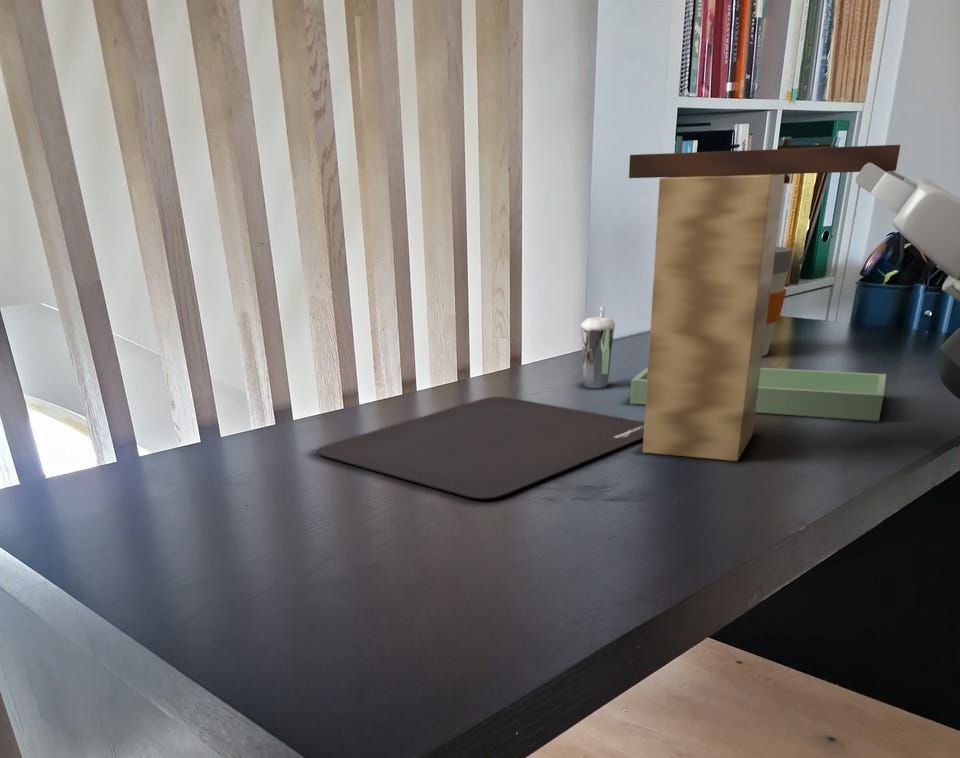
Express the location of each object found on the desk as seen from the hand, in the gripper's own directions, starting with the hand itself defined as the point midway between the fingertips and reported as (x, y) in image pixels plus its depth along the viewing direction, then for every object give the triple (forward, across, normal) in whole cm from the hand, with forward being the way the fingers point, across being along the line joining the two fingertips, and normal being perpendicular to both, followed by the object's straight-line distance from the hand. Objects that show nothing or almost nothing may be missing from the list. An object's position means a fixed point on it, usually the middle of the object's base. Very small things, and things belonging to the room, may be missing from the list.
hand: (863, 169), depth 77 cm
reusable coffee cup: (+1, -52, +31) cm, 60 cm away
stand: (-2, 0, +29) cm, 29 cm away
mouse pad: (+17, +6, +40) cm, 44 cm away
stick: (+8, 0, +5) cm, 9 cm away
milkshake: (+14, -24, +38) cm, 47 cm away
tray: (-5, -21, +27) cm, 35 cm away
